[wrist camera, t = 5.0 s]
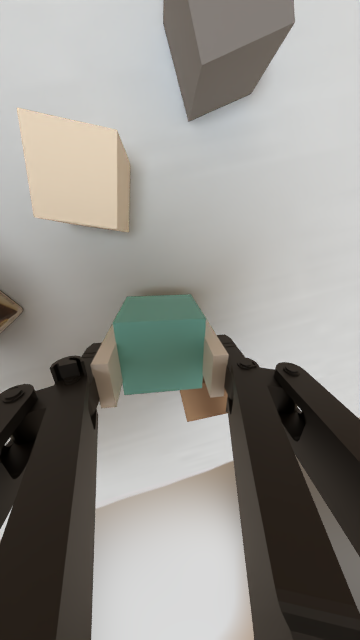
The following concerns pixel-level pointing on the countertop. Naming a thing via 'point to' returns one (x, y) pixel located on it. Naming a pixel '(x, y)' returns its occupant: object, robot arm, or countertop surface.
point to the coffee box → (8, 311)
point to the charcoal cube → (223, 47)
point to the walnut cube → (202, 403)
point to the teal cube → (160, 343)
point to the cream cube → (75, 171)
